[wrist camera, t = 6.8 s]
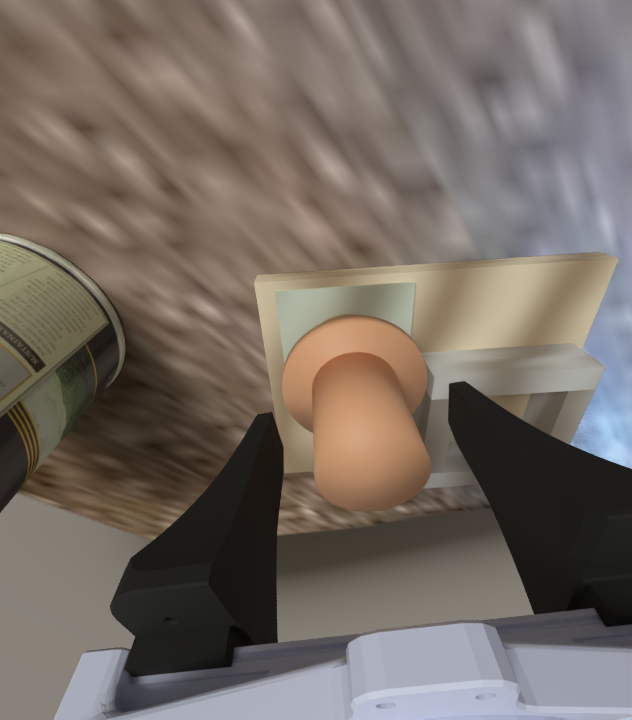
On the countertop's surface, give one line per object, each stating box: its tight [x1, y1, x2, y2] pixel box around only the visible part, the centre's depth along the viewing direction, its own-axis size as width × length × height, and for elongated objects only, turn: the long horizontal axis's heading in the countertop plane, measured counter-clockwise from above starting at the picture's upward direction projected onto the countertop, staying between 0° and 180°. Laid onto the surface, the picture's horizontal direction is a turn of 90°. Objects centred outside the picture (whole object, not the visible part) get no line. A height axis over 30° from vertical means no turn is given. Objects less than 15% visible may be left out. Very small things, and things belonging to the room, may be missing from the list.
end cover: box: [282, 314, 431, 512], centre depth 15 cm, size 7×7×8 cm
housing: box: [254, 252, 619, 489], centre depth 20 cm, size 18×14×4 cm
